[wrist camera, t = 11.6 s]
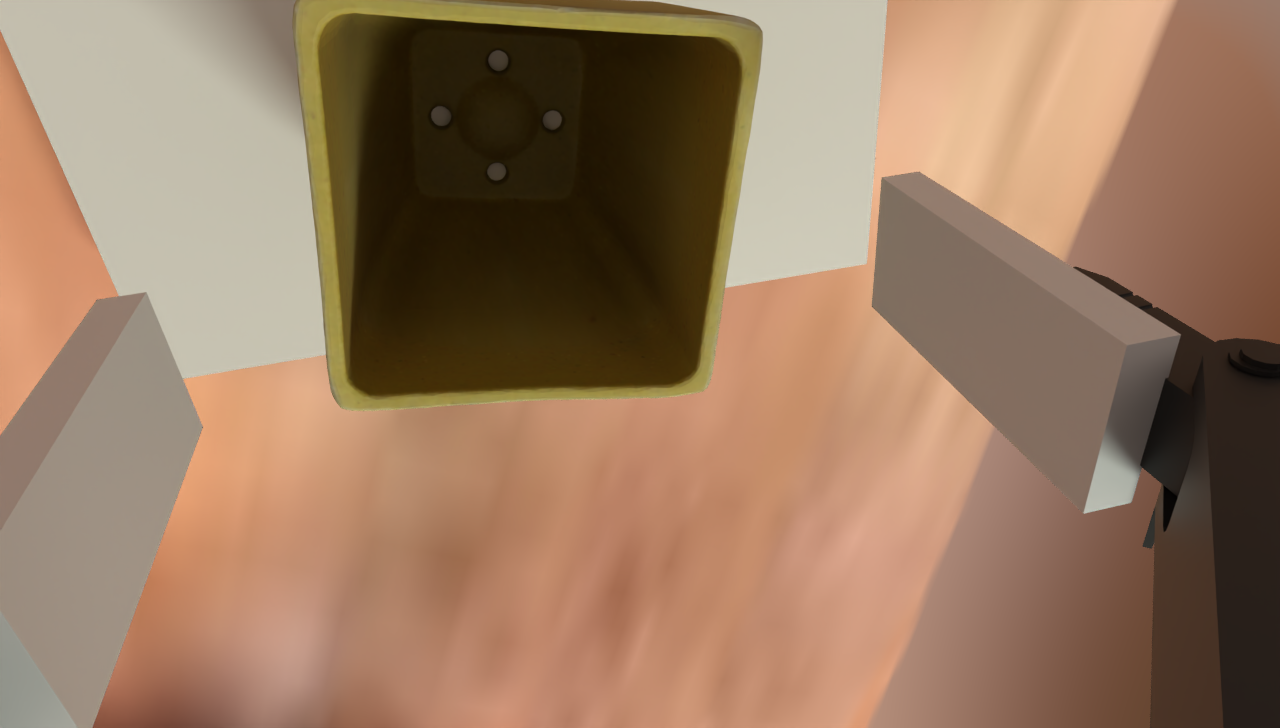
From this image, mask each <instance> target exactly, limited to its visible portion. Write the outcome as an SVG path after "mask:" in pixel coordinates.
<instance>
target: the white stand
mask: <svg viewBox="0 0 1280 728" xmlns="http://www.w3.org/2000/svg"><path fill="white" fill-rule="evenodd" d="M632 1H654V2H662V3H668V4H674V5H680V6H685V7H690V8H696V9H702V10H707V11H713V12H718V13H724V14H729V15H735V16H739V17H744V18H747V19H749V20H751V21H753V22H755V23H756V24H757V25H758V26H759V27H760V28H761V30H762V32H763V47H762V56H761V68H760V75H759V81H758V88H757V93H756V98H755V105H754V111H753V118H752V125H751V132H750V138H749V143H748V148H747V153H746V159H745V165H744V171H743V177H742V185H741V192H740V198H739V204H738V209H737V215H736V221H735V227H734V233H733V240H732V246H731V253H730V259H729V264H728V270H727V277H726V283H725V288H726V287H732V286H738V285H744V284H750V283H756V282H762V281H768V280H774V279H780V278H786V277H792V276H798V275H804V274H810V273H816V272H822V271H828V270H834V269H839V268H845V267H851V266H857V265H863V264H867V255H868V242H869V229H870V217H871V204H872V191H873V179H874V166H875V153H876V141H877V128H878V115H879V102H880V90H881V77H882V64H883V52H884V39H885V26H886V14H887V1H888V0H632ZM295 2H296V0H0V30H1V33H2V35H3V37H4V39H5V42H6V44H7V46H8V48H9V51H10V53H11V55H12V57H13V60H14V62H15V64H16V66H17V69H18V71H19V73H20V75H21V78H22V80H23V82H24V84H25V86H26V89H27V91H28V93H29V95H30V98H31V100H32V102H33V104H34V107H35V109H36V111H37V113H38V116H39V118H40V120H41V122H42V125H43V127H44V129H45V131H46V133H47V136H48V138H49V140H50V142H51V145H52V147H53V149H54V151H55V154H56V156H57V158H58V160H59V163H60V165H61V167H62V169H63V172H64V174H65V176H66V178H67V180H68V183H69V185H70V187H71V189H72V192H73V194H74V196H75V198H76V201H77V203H78V205H79V207H80V210H81V212H82V214H83V216H84V219H85V221H86V223H87V225H88V228H89V230H90V232H91V234H92V236H93V239H94V241H95V243H96V245H97V248H98V250H99V252H100V254H101V257H102V259H103V261H104V263H105V266H106V268H107V270H108V272H109V275H110V277H111V279H112V281H113V283H114V286H115V288H116V290H117V292H118V295H119V296H124V295H131V294H137V293H144V292H147V295H148V297H149V300H150V302H151V304H152V307H153V309H154V311H155V314H156V316H157V319H158V321H159V323H160V326H161V328H162V331H163V333H164V335H165V338H166V340H167V343H168V345H169V347H170V350H171V352H172V354H173V357H174V359H175V362H176V364H177V366H178V369H179V371H180V374H181V376H182V378H183V379H185V378H191V377H197V376H203V375H208V374H214V373H220V372H226V371H232V370H238V369H244V368H250V367H256V366H262V365H268V364H274V363H280V362H286V361H292V360H298V359H304V358H310V357H316V356H322V355H326V349H325V336H324V327H323V311H322V298H321V287H320V277H319V268H318V256H317V247H316V237H315V226H314V218H313V210H312V199H311V190H310V181H309V172H308V163H307V153H306V144H305V134H304V127H303V119H302V111H301V103H300V96H299V87H298V77H297V66H296V56H295V48H294V39H293V29H292V19H293V8H294V4H295ZM488 63H489V65H490V67H491V68H492V69H494V70H496V71H502V70H504V69H505V68H506V67H507V65H508V57H507V55H506V54H505V53H504V52H503V51H499V50H496V51H494V52H492V53H491V54H490V56H489V58H488ZM431 118H432V120H433V122H434V123H435V124H436V125H440V126H444V125H447V124H448V123H449V122H450V120H451V113H450V112H449V110H448V109H447V108H445V107H443V106H438V107H436V108H434V109H433V111H432V112H431ZM561 121H562V117H561V115H560V114H559V113H558V112H557V111H553V110H552V111H549V112H547V113H545V115H544V117H543V124H544V126H545V127H546V128H548V129H551V130H554V129H556V128H558V127H559V126H560V124H561ZM487 174H488V175H489V177H490V178H491V179H493V180H495V181H496V180H501V179H502V178H503V177H504V176H505V174H506V168H505V166H504V165H503V164H501V163H493V164H491V165H490V166H489V168H488V170H487Z"/></svg>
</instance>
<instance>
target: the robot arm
mask: <svg viewBox="0 0 1280 728" xmlns="http://www.w3.org/2000/svg"><path fill="white" fill-rule="evenodd" d="M872 307H873V308H874V309H875V310H876V311H877V312H878V313H879V314H880V315H881V316H882V317H883V318H884V319H885V320H886V321H887V322H888V323H889V324H890V325H891V326H892V327H893V328H894V329H895V330H896V331H897V332H898V333H899V334H901V335H902V336H903V337H904V338H905V339H906V340H907V341H908V342H909V343H910V344H911V345H912V346H913V347H914V348H915V349H916V350H917V351H918V352H919V353H920V354H921V355H922V356H923V357H924V358H925V359H926V360H927V361H928V362H929V363H930V364H931V365H932V366H933V367H934V368H935V369H936V370H937V371H938V372H939V373H940V374H941V375H942V376H943V377H944V378H945V379H946V380H948V381H949V382H950V383H951V384H952V385H953V386H954V387H955V388H956V389H957V390H958V391H959V392H960V393H961V394H962V395H963V396H964V397H965V398H966V399H967V400H968V401H969V402H970V403H971V404H972V405H973V406H974V407H975V408H976V409H977V410H978V411H979V412H980V413H981V414H982V415H983V416H984V417H985V418H986V419H987V420H988V421H989V422H990V423H991V424H992V425H993V426H995V427H996V428H997V429H998V430H999V431H1000V432H1001V433H1002V434H1003V435H1004V436H1005V437H1006V438H1007V439H1008V440H1009V441H1010V442H1011V443H1012V444H1013V445H1014V446H1015V447H1016V448H1017V449H1018V450H1019V451H1020V452H1021V453H1022V454H1023V455H1024V456H1025V457H1026V458H1027V459H1028V460H1029V461H1030V462H1031V463H1032V464H1033V465H1034V466H1036V468H1037V469H1038V470H1039V471H1040V472H1042V473H1043V474H1044V475H1045V476H1046V477H1047V478H1048V479H1049V480H1050V481H1051V482H1052V483H1053V484H1054V485H1055V486H1056V487H1057V488H1058V489H1059V490H1060V491H1061V492H1062V493H1063V494H1064V495H1065V496H1066V497H1067V498H1068V499H1069V500H1070V501H1071V502H1072V503H1073V504H1074V505H1075V506H1076V507H1077V508H1078V509H1079V510H1080V511H1081V512H1083V514H1084V513H1088V512H1092V511H1097V510H1101V509H1105V508H1110V507H1114V506H1119V505H1123V504H1127V503H1131V502H1132V499H1133V495H1134V492H1135V489H1136V486H1137V482H1138V479H1139V475H1140V472H1141V468H1144V469H1145V470H1146V471H1147V472H1149V473H1150V474H1151V475H1152V476H1153V477H1154V478H1156V479H1157V480H1158V481H1159V482H1161V483H1162V486H1161V489H1160V493H1159V496H1158V499H1157V502H1156V505H1155V509H1154V511H1153V515H1152V518H1151V521H1150V524H1149V528H1148V531H1147V534H1146V537H1145V540H1144V543H1143V547H1147V548H1152V546H1153V544H1154V546H1155V547H1154V585H1153V628H1152V629H1153V630H1152V671H1151V714H1150V717H1151V718H1150V728H1280V344H1275V343H1270V342H1266V341H1261V340H1253V339H1239V338H1235V339H1227V340H1219V341H1217V342H1214V341H1212V340H1211V339H1209V338H1207V337H1206V336H1204V335H1202V334H1201V333H1199V332H1198V331H1196V330H1194V329H1192V328H1191V327H1189V326H1187V325H1186V324H1184V323H1182V322H1181V321H1179V320H1178V319H1176V318H1174V317H1173V316H1171V315H1169V314H1168V313H1166V312H1164V311H1163V310H1161V309H1159V308H1158V307H1156V308H1153V307H1152V304H1151V303H1149V302H1148V301H1146V300H1144V299H1143V298H1141V297H1139V296H1138V295H1136V296H1133V292H1131V291H1130V290H1128V289H1126V288H1125V287H1123V286H1121V285H1120V284H1118V283H1116V282H1115V281H1113V280H1111V279H1110V278H1108V277H1105V276H1102V275H1099V274H1096V273H1093V272H1090V271H1087V270H1084V269H1081V268H1078V267H1072V266H1070V265H1068V264H1067V263H1065V262H1063V261H1062V260H1060V259H1059V258H1057V257H1055V256H1054V255H1052V254H1051V253H1049V252H1047V251H1046V250H1044V249H1043V248H1041V247H1039V246H1038V245H1036V244H1035V243H1033V242H1031V241H1030V240H1028V239H1026V238H1025V237H1023V236H1022V235H1020V234H1018V233H1017V232H1015V231H1014V230H1012V229H1010V228H1009V227H1007V226H1006V225H1004V224H1002V223H1001V222H999V221H998V220H996V219H994V218H993V217H991V216H989V215H988V214H986V213H985V212H983V211H981V210H980V209H978V208H977V207H975V206H973V205H972V204H970V203H969V202H967V201H965V200H964V199H962V198H961V197H959V196H957V195H956V194H954V193H952V192H951V191H949V190H948V189H946V188H944V187H943V186H941V185H940V184H938V183H936V182H935V181H933V180H932V179H930V178H928V177H927V176H925V175H924V174H922V173H920V172H914V173H908V174H901V175H895V176H888V177H882V181H881V194H880V207H879V220H878V233H877V246H876V259H875V272H874V285H873V298H872ZM202 428H203V426H202V424H201V421H200V419H199V417H198V414H197V412H196V409H195V407H194V405H193V402H192V400H191V397H190V395H189V393H188V390H187V388H186V386H185V383H184V381H183V378H182V376H181V374H180V371H179V369H178V366H177V364H176V362H175V359H174V357H173V354H172V352H171V350H170V347H169V345H168V343H167V340H166V338H165V335H164V333H163V331H162V328H161V326H160V323H159V321H158V319H157V316H156V314H155V311H154V309H153V307H152V304H151V302H150V300H149V297H148V295H147V292H144V293H137V294H131V295H124V296H118V297H112V298H105V299H99V300H96V302H95V303H94V305H93V306H92V308H91V309H90V310H89V312H88V313H87V315H86V316H85V317H84V319H83V320H82V322H81V323H80V324H79V326H78V327H77V329H76V330H75V331H74V333H73V334H72V336H71V337H70V338H69V340H68V341H67V343H66V344H65V345H64V347H63V348H62V350H61V351H60V352H59V354H58V355H57V357H56V358H55V359H54V361H53V362H52V364H51V365H50V367H49V368H48V369H47V371H46V372H45V374H44V375H43V376H42V378H41V379H40V381H39V382H38V383H37V385H36V386H35V388H34V389H33V390H32V392H31V393H30V395H29V396H28V397H27V399H26V400H25V402H24V403H23V404H22V406H21V407H20V409H19V410H18V411H17V413H16V414H15V416H14V417H13V419H12V420H11V421H10V423H9V424H8V426H7V427H6V428H5V430H4V431H3V433H2V434H1V435H0V728H92V727H93V725H94V722H95V719H96V717H97V714H98V711H99V708H100V706H101V703H102V700H103V697H104V695H105V692H106V689H107V687H108V684H109V681H110V678H111V676H112V673H113V670H114V668H115V665H116V662H117V659H118V657H119V654H120V651H121V648H122V646H123V643H124V640H125V638H126V635H127V632H128V629H129V627H130V624H131V621H132V619H133V616H134V613H135V610H136V608H137V605H138V602H139V599H140V597H141V594H142V591H143V589H144V586H145V583H146V580H147V578H148V575H149V572H150V570H151V567H152V564H153V561H154V559H155V556H156V553H157V550H158V548H159V545H160V542H161V540H162V537H163V534H164V531H165V529H166V526H167V523H168V521H169V518H170V515H171V512H172V510H173V507H174V504H175V501H176V499H177V496H178V493H179V491H180V488H181V485H182V482H183V480H184V477H185V474H186V471H187V469H188V466H189V463H190V461H191V458H192V455H193V452H194V450H195V447H196V444H197V442H198V439H199V436H200V433H201V431H202Z"/></svg>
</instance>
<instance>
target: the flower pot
mask: <svg viewBox="0 0 1280 728" xmlns="http://www.w3.org/2000/svg"><path fill="white" fill-rule="evenodd" d="M292 29H293V39H294V48H295V56H296V66H297V77H298V87H299V96H300V103H301V111H302V119H303V127H304V134H305V144H306V153H307V163H308V172H309V181H310V190H311V199H312V210H313V218H314V226H315V237H316V247H317V256H318V268H319V277H320V287H321V298H322V311H323V327H324V336H325V349H326V359H327V369H328V376H329V382H330V388H331V392H332V395H333V397H334V399H335V400H336V402H337V404H338V405H339V406H340V407H341V408H343V409H346V410H352V411H377V410H398V409H414V408H428V407H437V406H454V405H472V404H485V403H499V402H513V401H534V400H572V399H629V398H667V397H676V396H682V395H688V394H693V393H699V392H703V391H704V390H705V389H707V387H708V385H709V383H710V380H711V376H712V371H713V365H714V359H715V352H716V344H717V338H718V331H719V324H720V319H721V311H722V304H723V297H724V290H725V283H726V277H727V270H728V264H729V259H730V253H731V246H732V240H733V233H734V227H735V221H736V215H737V209H738V204H739V198H740V192H741V185H742V177H743V171H744V165H745V159H746V153H747V148H748V143H749V138H750V132H751V125H752V118H753V111H754V105H755V98H756V93H757V88H758V81H759V75H760V68H761V56H762V47H763V32H762V30H761V28H760V27H759V26H758V25H757V24H756V23H755V22H753V21H751V20H749V19H747V18H744V17H739V16H735V15H729V14H724V13H718V12H713V11H707V10H702V9H696V8H690V7H685V6H680V5H674V4H668V3H662V2H654V1H632V0H296V2H295V4H294V8H293V19H292ZM496 50H499V51H503V52H504V53H505V54H506V55H507V57H508V65H507V67H506V68H505V69H504V70H502V71H496V70H494V69H492V68H491V67H490V65H489V63H488V58H489V56H490V54H491V53H492V52H494V51H496ZM438 106H443V107H445V108H447V109H448V110H449V112H450V113H451V120H450V122H449V123H448V124H447V125H444V126H440V125H436V124H435V123H434V122H433V120H432V118H431V112H432V111H433V109H434V108H436V107H438ZM552 110H553V111H557V112H558V113H559V114H560V115H561V117H562V121H561V124H560V126H559V127H558V128H556V129H554V130H551V129H548V128H546V127H545V126H544V124H543V117H544V115H545V113H547V112H549V111H552ZM493 163H501V164H503V165H504V166H505V168H506V174H505V176H504V177H503V178H502V179H501V180H496V181H495V180H493V179H491V178H490V177H489V175H488V174H487V170H488V168H489V166H490V165H491V164H493Z"/></svg>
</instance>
